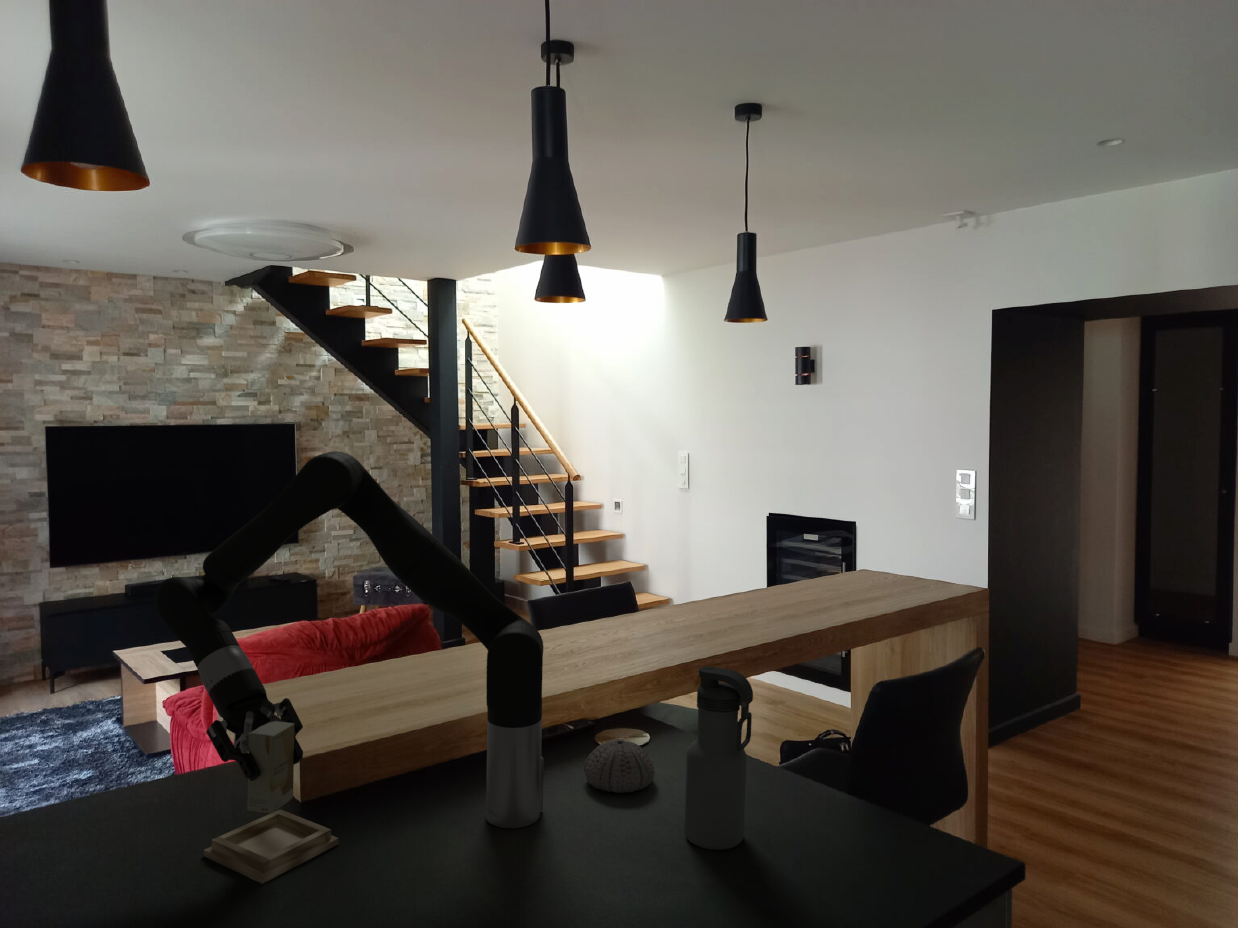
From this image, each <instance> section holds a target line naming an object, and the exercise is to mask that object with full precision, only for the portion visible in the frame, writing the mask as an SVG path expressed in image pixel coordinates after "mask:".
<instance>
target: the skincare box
mask: <svg viewBox="0 0 1238 928" xmlns="http://www.w3.org/2000/svg"><path fill="white" fill-rule="evenodd" d="M248 746H249V749H248V753H251V754H252V756H253V758H254V760H255V761H256V763H257V765H258V767H259V769H260V771H261V775H260V776H259V777H258V778H257V779H256V780H254V781H250V779H249V778H248V779H247V797H246V798H247V803H246V807H247V808H246V809H247V811H251V812H256V813H263V814H264V813H265V814H266V813H267V814H271V813H273V812H275V811H278V810H280V808H281V807H283V806H284V805H286V804H287V803H288V802H289V801H291V800H292V799H294V771H295V769H294V768H295V767H294V766H295V764H294V723H287V722H278V721H274V722H272V721H271V722H268V723H267V724H265V725H263V726H260V727H259V728H257V729H256V730H254V731H252V732H250V733H249V742H248Z"/></svg>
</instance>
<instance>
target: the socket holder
mask: <svg viewBox="0 0 1238 928" xmlns="http://www.w3.org/2000/svg"><path fill="white" fill-rule="evenodd" d="M338 845H339V837H336V836H334V835H332V829H331V828H328V827H326V826H323V825H321V824H318V823H316V822H314V821H310V820H309V819H306V818H303V817H301V816H298V815H296V814H293V813H290V812H288V811H287V810H283V809H280V808H279V809H277V810H276V811H274V812H273V813H268V814H267V815H265V816H262V817H259V818H258V819H255V820H253V821H251V822H249V823H246V824H243V825H242V826H240V827H238V828H235V829H233V830H230V831H228V832H226V833H224V834H221V835H219V836H218V837H217V836H216V837H215V838H213V839H211V846H209V847H207V848H205V849H203V857H205V858H207V859H210V860H211V861H213V862H216V863H217V864H219V865H222V866H223V867H226V868H228V869H230V870H232V871H234V872H236V873H238V874H240V875H242V876H245V877H247V878H249V879H251V880H253V881H255V882H257V883H259V884H265V883H267V882H268V881H271V880H272V879H274V878H277V877H278V876H280V875H282V874H284V873H286V872H288V871H290V870H292V869H293V868H295V867H298V866H300V865H302V864H304V863H305V862H307V861H309V860H311V859H313V858H314V857H316V856H318V855H320V854H323V853H324V852H327V851H328V850H331V849H332V848H334V847H337V846H338Z"/></svg>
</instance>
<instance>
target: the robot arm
mask: <svg viewBox="0 0 1238 928" xmlns="http://www.w3.org/2000/svg"><path fill="white" fill-rule="evenodd" d="M335 509H338V510H339V511H340V512H341V513H342V514H344V515H345V516H347V517H348V518H349V519H350V520H351V521H352V522H354V523H355V524H356V525H357V526H358V527H359V528H360V529H361V530H362V531H363V532H364V533H365V534H366V535H367V537H368V539H370V541H371V544H373V546H374V548H375V549H376V551H377V552H378V554H379V556H380V557H381V559H382V560H383V562H384V563H385V565H386V566H387V568H388V569H389V571H391V573H392V574H393V576H395V578H397V579H398V580H400V582H401V583H402V584H403V585H404V586H405V587H407V588H408V589H409V590H410V591H411V592H412V593H413V594H414V595H415V596H416V597H417V598H419V600H421V601H423V602H424V603H425V604H427V605H429V606H430V607H432V608H434V609H435V610H437V611H439V612H441V613H442V614H445V615H447V616H449V617H450V618H452V619H454V620H456V621H457V622H458V623H460V624H461V625H463V626H464V627H465V628H466V629H467V630H469V631H470V633H472V634H473V636H475V638H476V639H477V640H478V641H479V642H480V643H481V644H482V646H484V648H485V649H486V650H487V655H486V680H485V681H486V688H485V689H486V696H485V697H486V698H485V699H486V708H487V711H486V712H487V721H486V722H487V724H486V725H487V726H486V727H487V728H486V729H487V730H486V733H487V734H486V735H487V736H486V742H487V743H486V792H485V793H486V794H485V796H486V797H485V798H486V799H485V818H486V819H485V820H486V821H487V822H488V823H489V824H491V825H492V826H495V827H498V828H501V829H503V828H504V829H520V828H525V827H529V826H530V825H534V823H537V821H539V819H540V816H541V812H543V810H544V778H545V777H544V773H545V771H544V769H545V768H544V767H545V766H544V765H545V762H544V761H545V760H544V757H543V756H542V738H543V737H542V734H543V733H542V728H543V727H542V726H543V724H542V723H543V722H542V721H543V719H542V717H543V670H544V669H543V665H544V664H543V662H544V647H545V646H544V641H543V638H542V635H541V634H540V632H539V631H538V629H537V628H536V627H535V626H534V625H533V624H532V623H531V622H529V621H527V620H526V619H525V618H523V617H522V616H521V615H520V614H518V613H517V612H515V611H514V610H513V609H512V608H510V606H508V605H506V604H505V603H504V602H503V601H501V600H500V599H499V598H498V597H497V596H495V595H494V594H493V593H492V592H491V591H490V590H489V589H488V588H487V587H486V586H485V585H484V584H483V582H482V581H480V580H479V578H478V577H477V576H476V575H475V574H474V573H473V572H472V571H471V570H470V569H469V568H468V567H467V566H466V565H465V564H464V563H463V562H462V560H460V559H459V558H458V557H457V556H456V555H455V554H454V553H453V552H452V551H451V550H450V549H449V548H448V547H447V546H446V545H445V544H443V542H442V541H441V540H439V538H437V537H436V536H435V535H434V534H432V533H431V531H429V530H428V529H427V528H425V526H424V525H422V524H421V523H420V522H419V521H418V520H417V519H416V518H415V517H413V516H412V515H411V514H410V513H408V512H407V511H406V510H405V509H404V508H402V507H401V506H400V505H399V504H398V503H396V502H395V500H394V499H392V497H391V496H389V495H388V493H387V492H386V491H385V490H384V489H383V487H382V486H381V485H380V484H379V483H378V481H376V480H375V478H374V477H373V476H372V474H370V473H369V471H368V470H367V469H366V468H365V467H364V466H363V465H362V463H360V461H359V460H358V459H357V458H356V457H354V456H353V455H351V454H349V453H346V452H343V451H337V450H334V451H328V452H325V453H321V454H318V455H316V456H313V457H312V458H310V459H309V460H308V461H306V463H305V464H304V465H303V466H302V467H301V469H300V470H299V471H298V472H297V473H296V475H294V477H293V478H292V480H291V481H290V482H289V483H288V484H287V485H286V487H285V488H284V489H283V490H282V491H281V492H280V493H279V494H278V495H277V496H276V498H274V499H273V501H271V502H270V504H268V505H267V506H266V507H265V508H264V509H263V510H262V511H261V512H258V514H257V515H255V516H254V517H253V518H252V519H250V520H249V521H248V522H247V523H245V524H244V525H242V527H240V528H239V529H238V530H236V531H235V532H234V533H233V534H231V535H230V536H229V537H227V539H225V540H224V541H223V542H222V543H220V544H219V545H218V546H217V547H216V548H214V550H212V551H211V552H210V553H209V554H207V556H206V557H205V559H204V560H203V562H202V570H203V572H204V575H202V576H201V577H198V578H193V577H192V578H191V577H185V576H173V577H171V576H170V577H169V578H166V579H165V580H163V581H162V582H160V584H159V585H158V587H156V591H155V594H154V606H155V610H156V613H157V614H158V616H159V618H160V620H161V621H162V622H163V624H164V625H165V627H167V628H168V629H169V631H170V632H171V633H172V634H173V635H174V636H175V637H176V638H177V639H178V641H180V643H182V644H183V645H184V646H185V648H186V649H187V651H188V652H187V653H188V654H189V655H190V657H191V659H192V661H193V663H194V666H195V667H196V669H197V671H198V674H199V677H200V680H201V683H202V685H203V687H204V689H205V691H206V692H207V694H208V696H209V698H210V700H211V702H212V704H213V706H214V707H215V710H216V712H217V714H218V715H219V717H220V718H221V719H222V720H221V721H220V720H218V719H215V720H214V721H213V722H212V723H211V724H210V725H209V727H208V728H207V729H206V734H207V736H208V739H210V741H211V743H212V745H213V748H214V749H215V751H216V753H217V754H218V756H219V758H220V760H221V761H222V762H224V763H226V762H228V761H234V762H236V763H238V766H239V767H240V770H241V771H242V773H243V775H244V777H245V778H246V779H247V780H248V778H249V779H250V781H254V780H256V779H257V778H258V777H259V776H260V775H261V771H260V769H259V767H258V765H257V763H256V761H255V760H254V758H253V756H252V754H251V753H248V749H249V746H248V742H249V733H250V732H252V731H254V730H256V729H257V728H259V727H260V726H263V725H265V724H267V723H268V722H271V721H272V722H274V721H278V722H287V723H294V765H296V764H299V763H300V762H301V760H303V757H304V751H303V748H302V747H301V745H300V743H299V741H298V739H297V735H298V733H300V731H302V730H303V728H304V726H303V724H302V722H301V719H300V718H299V715H298V714H297V712H296V710H295V708H294V705H293V704H292V702H291V700H290V699H289V698H287V697H285V698H283V700H282V701H279V702H277V703H273V702H271V700H269V698H268V696H267V690H266V689H265V686H264V685H263V682H262V680H261V679H260V677H259V675H258V673H257V671H256V669H255V667H254V666H253V664H252V662H251V660H250V659H249V657H248V656H247V654H246V653H245V652H244V651H243V648H242V647H241V646H240V644H239V642H238V640H237V638H236V636H235V635H234V633H233V631H232V629H231V628H230V627H229V625H228V624H227V623H226V622H225V621H223V620H221V619H218V618H217V617H214V616H215V615H216V614H218V612H219V611H220V610H221V609H222V608H223V607H224V606H225V605H226V603H227V602H228V601H229V599H230V598H231V596H232V595H233V594H234V593H235V591H236V589H237V588H238V586H239V585H241V583H243V582H244V581H245V580H247V579H248V578H249V577H251V575H253V574H254V573H255V572H256V571H257V570H259V569H260V568H261V567H262V566H264V565H265V564H266V562H268V561H269V560H270V559H271V558H272V557H273V556H274V555H275V553H277V552H278V551H279V550H280V549H281V548H282V547H283V545H284V544H285V543H286V542H287V541H289V539H291V537H293V536H294V535H295V534H296V533H297V532H298V531H300V530H302V529H303V528H304V527H305V526H307V525H308V524H310V523H311V522H313V521H315V520H317V519H318V518H320V517H322V516H323V515H325V514H327V513H328V512H330V511H332V510H335ZM228 731H229V732H231V733H233V734H234V739H233V742H232V739H231V738H230V736H229V735H228V733H227V732H228Z"/></svg>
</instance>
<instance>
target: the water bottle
mask: <svg viewBox="0 0 1238 928" xmlns="http://www.w3.org/2000/svg"><path fill="white" fill-rule="evenodd" d="M698 677H699V678H700V683H699V686H698V687H697V690H696V707H697V734H696V735H697V736H696V740H694V741H693V742H692V743H690V745H689V746H688V748H687V751H686V766H685V767H686V768H685V771H686V772H685V773H686V774H685V798H684V799H685V800H684V801H685V802H684V803H685V804H684V835H685V837H686V839H687V840H688V841H689V842H690V843H692V844H693V845H695V846H697V847H699V848H702V849H705V850H706V849H707V850H710V851H711V850H712V851H725V850H729V849H733V848H735V847H737V846H738V845H740V844H741V843H742V841H743V839H744V837H745V835H744V833H745V808H746V807H745V806H746V781H747V752H746V751H745V748H746V747H747V746H748V745H749V743H750V742H751V738H752V737H751V736H752V719H753V717H752V716H753V714H752V712H751V711H750V710H749V709H750V704H751V703H752V702H753V701H754V691H753V688H752V685H751V683H750V681H749V680H748V679H747V678H746V676H744V675H743V673H741V672H738V671H735V670H732V669H728V668H724V667H723V668H722V667H716V666H709V665H708V666H701V667H699V669H698ZM739 711H740V718H739ZM745 722H746V735H745V739H744V740H743V742H742V735H743V734H742V733H743V732H742V731H743V725H744V723H745Z"/></svg>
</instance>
